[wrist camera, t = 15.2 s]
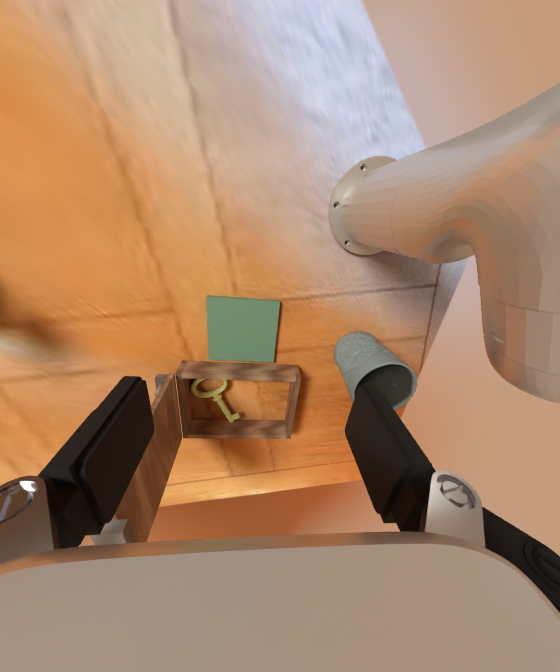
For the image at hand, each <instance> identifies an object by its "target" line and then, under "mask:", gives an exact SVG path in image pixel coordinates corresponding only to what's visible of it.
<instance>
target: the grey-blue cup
mask: <svg viewBox="0 0 560 672" xmlns="http://www.w3.org/2000/svg"><path fill="white" fill-rule="evenodd" d="M334 359H335V361H336V364H337V365H338V367H339V369H340V372H341V375H342V376H343V378H344V381H345V383H346V386H347V389H348V391H349V394H350V396H351V399H352V401H353V402H354V398H355V395H356V392H357V389H358V387H361V385H362V384H375V385H377V386H378V388H379V389H380V390H381V392H382V393H383V395H384V396H385V398H386V399H387V401H388V402H389V403H390V405H391V406H392V408H393V409H394V411H395V410H397V409H399V408H400V407H402V406H403V405H404V404H406V403H407V402H408V401H409V400H410V398H411V397H412V396H413V394H414V392H415V390H416V387H417V377H416V374H415V372H414V371H413V370H412V369H411V368H410V367H409V366H408V365H407V364H406V363H404V362H403V361H402V360H401V359H399V358H398V357H397V356H395V355H394V354H393V353H392V352H391V351H389V350H388V349H387V348H386V347H385V346H383V345H382V344H381V343H379V342H378V341H377V340H376V339H375V338H374V337H373V336H372V335H371V334H369V333H366V332H361V331H356V332H352V333H348V334H346V335H345V336H343V337H342V338H341V339H340V340H339V341H338V342H337V344H336V346H335V349H334Z"/></svg>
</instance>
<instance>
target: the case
mask: <svg viewBox="0 0 560 672" xmlns="http://www.w3.org/2000/svg"><path fill="white" fill-rule="evenodd" d="M190 379H219V380H249V381H280V382H290V389H289V395H288V402H287V409H286V415H285V421H280V420H234V421H233V422H232V423H230V422H229V421H228V420H203V419H193V414H192V403H191V391H190ZM176 381H177V389H178V398H179V406H180V415H181V423H182V432H183V438H272V439H291V434H292V428H293V422H294V417H295V411H296V405H297V400H298V394H299V388H300V383H301V375H300V371H299V367H298V365H276V364H252V363H228V362H203V361H182V362H181V364H180V366H179V368H178V370H177V372H176ZM155 383H156V389H157V390H156V391H155V393H154V394H155V396H156V398H155V400H154V402H153V403H152V405H151V410H152V415H153V420H154V426H155V428H154V433H153V436H152V438H151V440H150V442H149V444H148V446H147V448H146V450H145V452H144V454H143V457H142V459H141V461H140V463H139V465H138V467H137V469H136V471H135V473H134V475H133V477H132V479H131V481H130V483H129V486H128V488H127V490H126V492H125V494H124V496H123V498H122V500H121V502H120V504H119V506H118V508H117V510H116V513H115V515H114V517H113V518H112V520H111V521H110V522H109V523H107V524H105V525H104V527H103V529H102V531H101V533H100V535H90V536H91V538H92V540H93V542H94V544H95V545H108V544H123V543H138V542H147V539H148V536H149V533H150V530H151V527H152V525H153V521H154V519H155V516H156V513H157V510H158V507H159V504H160V501H161V498H162V495H163V493H164V490H165V487H166V484H167V481H168V478H169V475H170V472H171V469H172V466H173V463H174V461H175V458H176V455H177V452H178V449H179V446H180V443H181V440H182V432H181V424H180V416H179V407H178V399H177V391H176V382H175V374H174V373H169V375H166V374H157V376H156V377H155Z"/></svg>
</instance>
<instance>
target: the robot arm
mask: <svg viewBox="0 0 560 672" xmlns="http://www.w3.org/2000/svg"><path fill="white" fill-rule="evenodd" d="M361 166H362V167H363V169H362V170H361V169H360V167H361ZM334 203H336V207H334ZM329 225H330V228H331V231H332V234H333V236H334V237H335V239H336V241H337V242H338V243H339V244H340V245H341V246H342V247H343V248H345V249H346V250H348V251H350V252H352V253H355V254H359V255H371V254H376V253H379V252H381V251H383V250H385V251H388V252H392V253H395V254H399V255H402V256H406V257H410V258H413V259H417V260H421V261H424V262H429V263H450V262H455V261H459V260H462V259H465V258H468V257H470V256H472V255H474V254H475V258H476V263H477V272H478V283H479V286H480V296H481V310H482V322H483V333H484V342H485V348H486V352H487V356H488V358H489V361H490V363H491V364H492V366H493V367H494V369H495V370H496V371H497V372H498V373H499V374H500V376H501V377H502V378H504V379H505V380H506V381H507V382H509V383H510V384H512V385H513V386H515V387H517V388H518V389H520V390H522V391H524V392H527V393H529V394H531V395H534V396H536V397H539V398H542V399H545V400H548V401H552V402H555V403H559V404H560V83H558V84H557V85H555V86H553V87H551V88H550V89H548V90H546V91H545V92H543V93H541V94H540V95H538V96H536V97H535V98H533V99H531V100H529V101H528V102H526V103H525V104H523V105H521V106H519V107H517V108H515V109H513V110H511V111H510V112H508V113H506V114H504V115H502V116H501V117H499V118H497V119H495V120H493V121H491V122H489V123H487V124H484V125H483V126H480V127H478V128H476V129H474V130H472V131H469V132H467V133H465V134H462V135H460V136H458V137H455V138H452V139H450V140H448V141H445V142H443V143H440V144H438V145H435V146H432V147H430V148H427V149H425V150H422V151H420V152H417V153H415V154H412V155H410V156H407V157H405V158H402V159H400V160H396V159H394V158H391V157H387V156H375V157H370V158H367V159H364V160H362V161H360V162H358V163H357V164H355V165H353V166H352V167H351V168H350V169H349V170H348V171H346V172H345V174H344V175H343V176H342V177H341V179H340V180H339V181H338V183H337V185H336V187H335V188H334V191H333V194H332V196H331V200H330V204H329ZM345 241H347V243H346V244H345V243H344V242H345ZM154 428H155V426H154V420H153V415H152V410H151V405H150V400H149V394H148V389H147V384H146V381H145V380H142V378H141V377H136V376H125V377H123V378H122V379H121V380H120V381H119V383H118V384H117V385H116V386H115V387H114V389H113V390H112V391H111V392H110V393H109V394H108V396H107V397H106V398H105V399H104V400H103V402H102V403H101V404H100V405H99V406H98V408H97V409H95V410H94V411H93V412H92V413H91V414H90V415H89V416H88V417H87V418H86V420H85V421H84V422H83V423H82V424H81V425H80V427H79V428H78V429H77V430H76V431H75V433H74V434H73V435H72V436H71V437H70V438H69V440H68V441H67V442H66V443H65V444H64V446H63V447H62V448H61V449H60V450H59V451H58V453H57V454H56V455H55V456H54V457H53V458H52V460H51V461H50V462H49V463H48V464H47V466H46V467H45V468H44V469H43V470H42V471H41V473H40V474H39V475H38V476H24V477H19V478H17V479H14V480H11V481H9V482H7V483H5V484H3V485H1V486H0V672H560V557H559V556H558V555H557V554H556V553H555V552H554V551H552V550H551V549H550V548H548V547H547V546H545V545H544V544H542V543H541V542H539V541H537V540H536V539H534V538H532V537H531V536H529V535H528V534H526V533H524V532H523V531H521V530H519V529H518V528H516V527H515V526H513V525H511V524H510V523H508V522H506V521H504V520H503V519H502V518H500V517H498V516H497V515H495V514H494V513H492V512H490V511H489V510H487V509H485V508H484V507H482V504H481V500H480V498H479V496H478V494H477V492H476V491H475V490H474V489H473V488H472V487H471V486H470V484H468V483H467V482H466V481H465V480H464V479H462V478H461V477H459V476H458V475H456V474H454V473H451V472H449V471H444V470H441V471H435V469H434V468H433V467H432V464H431V463H430V462H429V460H428V458H427V457H426V456H425V454H424V453H423V451H422V450H421V448H420V447H419V445H418V444H417V442H416V441H415V440H414V438H413V437H412V435H411V434H410V432H409V431H408V429H407V428H406V427H405V425H404V424H403V422H402V421H401V419H400V418H399V416H398V415H397V414H396V412H395V411H394V409H393V408H392V406H391V405H390V403H389V402H388V401H387V399H386V398H385V396H384V395H383V393H382V392H381V390H380V389H379V388H378V386H377V385H375V384H362V385H361V387H358V389H357V392H356V395H355V398H354V402H353V405H352V408H351V411H350V414H349V417H348V421H347V424H346V427H345V435H346V438H347V440H348V443H349V445H350V448H351V450H352V453H353V455H354V458H355V460H356V463H357V466H358V468H359V471H360V473H361V476H362V478H363V481H364V483H365V486H366V488H367V491H368V494H369V496H370V499H371V501H372V504H373V506H374V509H375V511H376V512H377V513H378V514H380V515H381V518H382V520H383V522H384V523H397V525H398V528H399V530H400V532H364V533H363V532H362V533H335V534H309V535H285V536H264V537H241V538H220V539H219V538H218V539H198V540H178V541H158V542H138V543H123V544H108V545H94V546H81V547H78V546H79V545H80V544H81V542H82V540H83V539H84V537H85V535H100V533H101V531H102V529H103V527H104V525H105V524H107V523H109V522H110V521H111V520H112V518H113V517H114V515H115V513H116V510H117V508H118V506H119V504H120V502H121V500H122V498H123V496H124V494H125V492H126V490H127V488H128V486H129V483H130V481H131V479H132V477H133V475H134V473H135V471H136V469H137V467H138V465H139V463H140V461H141V459H142V457H143V454H144V452H145V450H146V448H147V446H148V444H149V442H150V440H151V438H152V436H153V433H154Z"/></svg>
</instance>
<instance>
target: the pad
mask: <svg viewBox="0 0 560 672" xmlns="http://www.w3.org/2000/svg"><path fill="white" fill-rule="evenodd" d="M206 299H207V325H208V350H209V360H230V361H254V362H274V354H275V345H276V336H277V326H278V317H279V308H280V301H277V300H263V299H249V298H236V297H222V296H208V295H207V297H206Z"/></svg>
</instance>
